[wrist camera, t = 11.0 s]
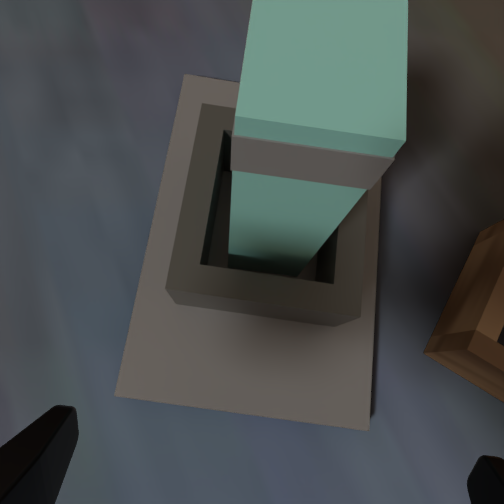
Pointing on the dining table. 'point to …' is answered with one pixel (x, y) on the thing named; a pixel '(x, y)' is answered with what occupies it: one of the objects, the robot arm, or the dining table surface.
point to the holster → (475, 317)
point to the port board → (246, 295)
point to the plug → (312, 123)
